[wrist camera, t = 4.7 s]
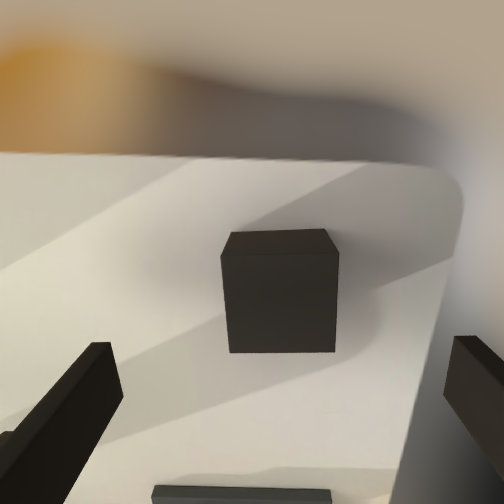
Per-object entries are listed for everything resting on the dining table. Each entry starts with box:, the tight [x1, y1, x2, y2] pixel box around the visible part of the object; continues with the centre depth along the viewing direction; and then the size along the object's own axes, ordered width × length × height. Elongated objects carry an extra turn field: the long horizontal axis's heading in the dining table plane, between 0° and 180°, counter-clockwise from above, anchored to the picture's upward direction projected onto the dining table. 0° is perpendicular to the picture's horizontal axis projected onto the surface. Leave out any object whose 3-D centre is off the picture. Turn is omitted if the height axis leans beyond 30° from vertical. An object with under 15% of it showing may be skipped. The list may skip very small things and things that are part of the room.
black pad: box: [220, 229, 339, 353], centre depth 19 cm, size 6×6×4 cm
